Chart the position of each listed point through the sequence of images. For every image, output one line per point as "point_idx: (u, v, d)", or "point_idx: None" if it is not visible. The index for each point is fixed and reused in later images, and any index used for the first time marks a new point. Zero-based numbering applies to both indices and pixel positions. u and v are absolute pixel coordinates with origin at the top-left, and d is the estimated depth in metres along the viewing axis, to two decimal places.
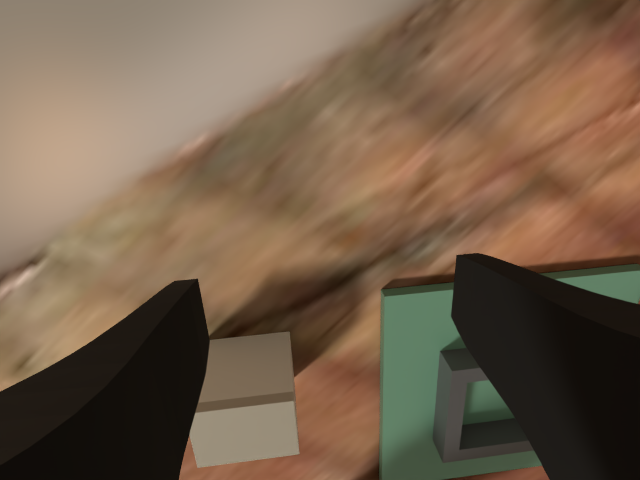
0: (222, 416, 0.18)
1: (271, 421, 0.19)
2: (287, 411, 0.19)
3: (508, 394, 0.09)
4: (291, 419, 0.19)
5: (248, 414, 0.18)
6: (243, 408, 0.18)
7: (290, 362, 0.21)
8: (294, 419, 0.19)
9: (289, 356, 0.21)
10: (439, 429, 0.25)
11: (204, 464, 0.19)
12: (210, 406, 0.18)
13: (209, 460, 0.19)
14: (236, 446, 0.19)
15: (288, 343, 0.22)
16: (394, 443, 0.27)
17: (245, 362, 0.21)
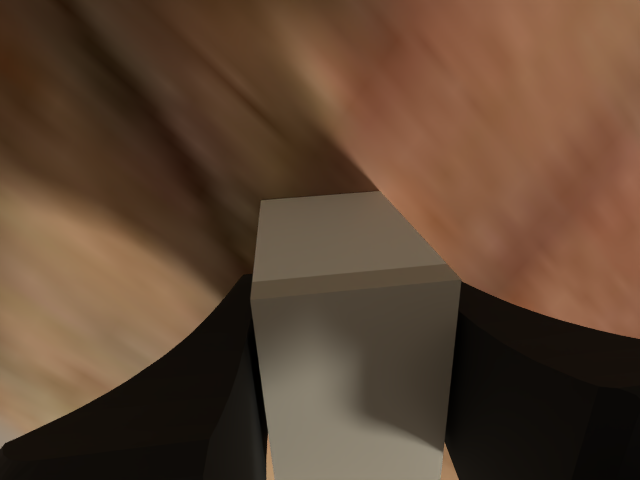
0: (291, 446, 0.08)
1: (321, 350, 0.07)
2: (289, 314, 0.06)
3: None
4: (318, 302, 0.06)
5: (291, 399, 0.07)
6: (273, 407, 0.07)
7: (257, 238, 0.09)
8: (322, 295, 0.06)
9: (258, 232, 0.09)
10: None
11: (434, 472, 0.08)
12: (273, 456, 0.08)
13: (424, 464, 0.08)
14: (393, 419, 0.08)
15: None
16: None
17: None
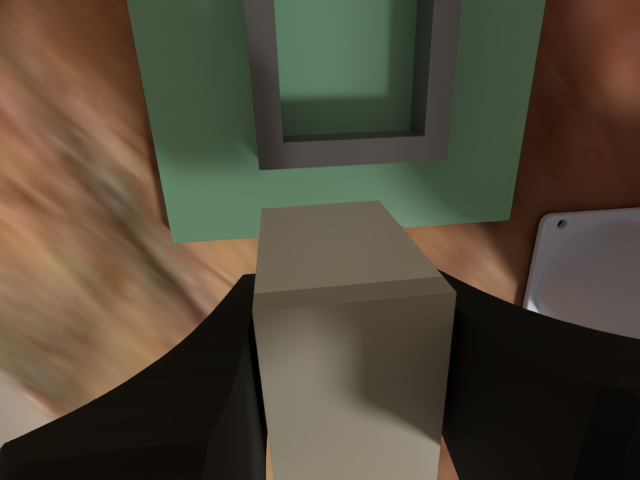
0: (291, 452, 0.08)
1: (321, 360, 0.07)
2: (290, 325, 0.07)
3: None
4: (318, 315, 0.07)
5: (291, 406, 0.07)
6: (273, 414, 0.07)
7: (258, 248, 0.09)
8: (322, 307, 0.07)
9: None
10: None
11: (430, 477, 0.09)
12: (273, 461, 0.08)
13: (420, 469, 0.08)
14: (390, 426, 0.08)
15: None
16: (424, 209, 0.18)
17: None
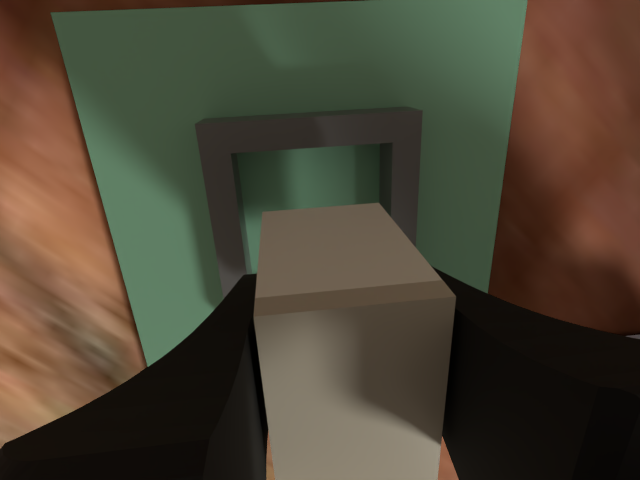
0: (292, 455, 0.08)
1: (321, 364, 0.07)
2: (290, 330, 0.07)
3: None
4: (318, 319, 0.07)
5: (292, 410, 0.07)
6: (275, 417, 0.08)
7: None
8: (323, 312, 0.07)
9: (260, 245, 0.10)
10: None
11: (430, 479, 0.09)
12: (274, 464, 0.08)
13: (420, 471, 0.09)
14: (391, 428, 0.08)
15: None
16: None
17: None
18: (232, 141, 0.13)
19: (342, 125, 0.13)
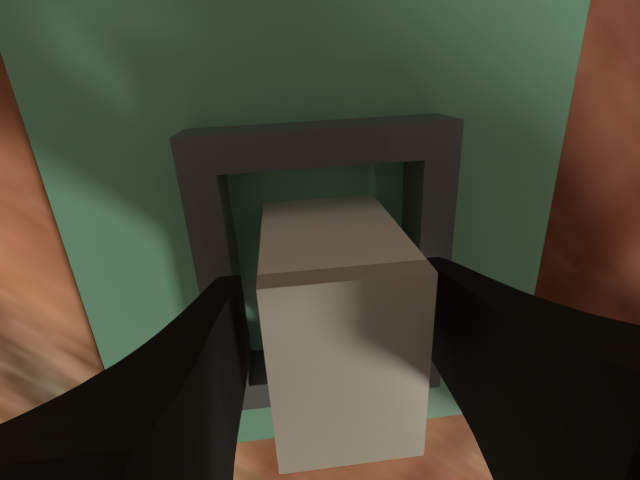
0: (291, 420, 0.09)
1: (317, 334, 0.08)
2: (289, 302, 0.08)
3: (462, 400, 0.09)
4: (314, 292, 0.07)
5: (291, 377, 0.08)
6: (275, 384, 0.08)
7: (260, 237, 0.10)
8: (318, 286, 0.07)
9: None
10: None
11: (418, 445, 0.09)
12: (274, 429, 0.09)
13: (409, 437, 0.09)
14: (381, 396, 0.09)
15: None
16: None
17: None
18: (219, 159, 0.10)
19: (361, 139, 0.10)
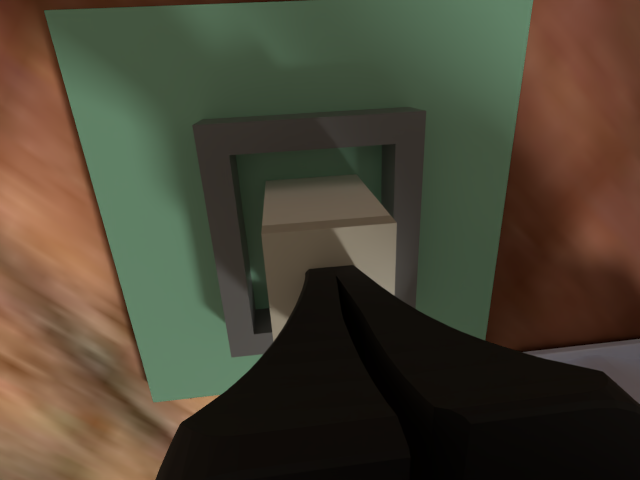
0: None
1: (307, 270, 0.10)
2: (286, 244, 0.10)
3: None
4: (304, 236, 0.10)
5: (287, 305, 0.11)
6: (275, 311, 0.11)
7: (264, 204, 0.12)
8: (307, 232, 0.10)
9: None
10: None
11: None
12: None
13: None
14: None
15: (265, 191, 0.14)
16: None
17: None
18: (231, 142, 0.13)
19: (343, 126, 0.13)
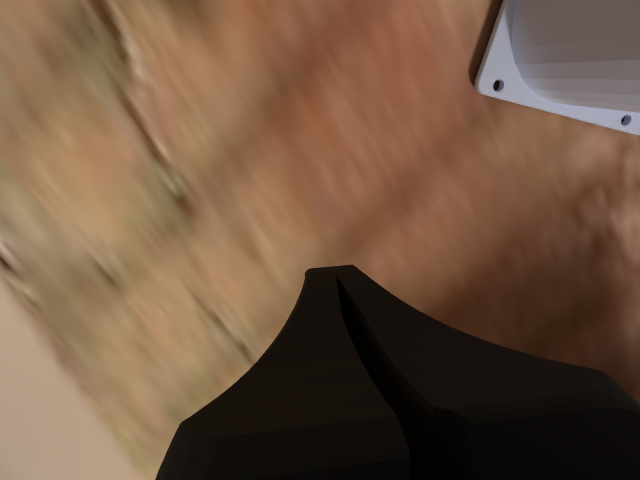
0: None
1: None
2: None
3: None
4: None
5: None
6: None
7: None
8: None
9: None
10: None
11: None
12: None
13: None
14: None
15: None
16: None
17: None
18: None
19: None
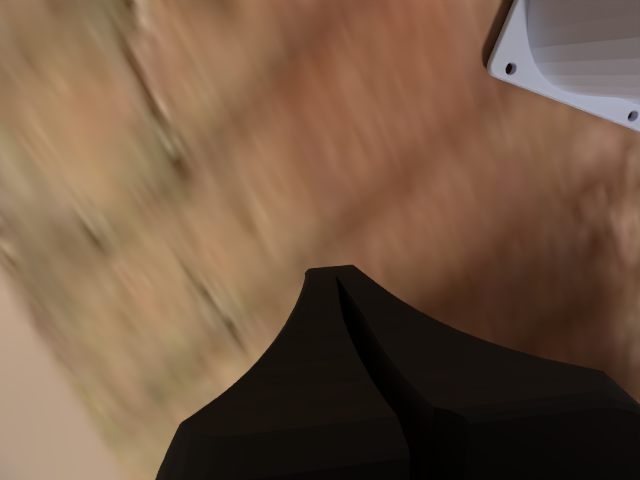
0: None
1: None
2: None
3: None
4: None
5: None
6: None
7: None
8: None
9: None
10: None
11: None
12: None
13: None
14: None
15: None
16: None
17: None
18: None
19: None
